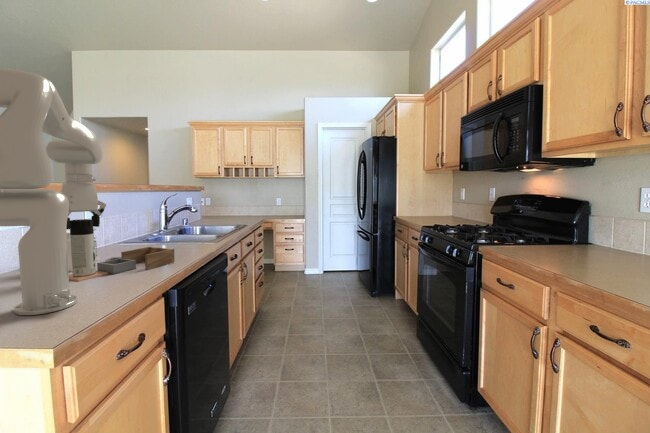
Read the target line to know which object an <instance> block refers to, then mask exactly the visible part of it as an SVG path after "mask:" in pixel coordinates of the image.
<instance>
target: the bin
mask: <svg viewBox="0 0 650 433" xmlns="http://www.w3.org/2000/svg"><path fill="white" fill-rule="evenodd" d="M96 268H97V269H96V271H101V272H108V274H107V275H117V274H120V273H125V272H128V271H133V270H136V269H137V264H136V260H130V259H122V258H118V259H114V260H109V261H106V260H105V261H100V262H97V263H96Z"/></svg>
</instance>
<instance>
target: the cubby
mask: <svg viewBox="0 0 650 433" xmlns="http://www.w3.org/2000/svg"><path fill="white" fill-rule="evenodd" d="M120 254H121V256H120V257H122V259H130V260H136V265H138V264H140V263H145V270H146V271H149V270H152V269H156V268H161V267H164V266H168V265H171V264H170V263H172V264H174V262H175V248H167V247H156V246H146V247H141V248H135V249H131V250H130V249H129V250H124V251H121V253H120ZM167 264H168V265H167Z"/></svg>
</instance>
